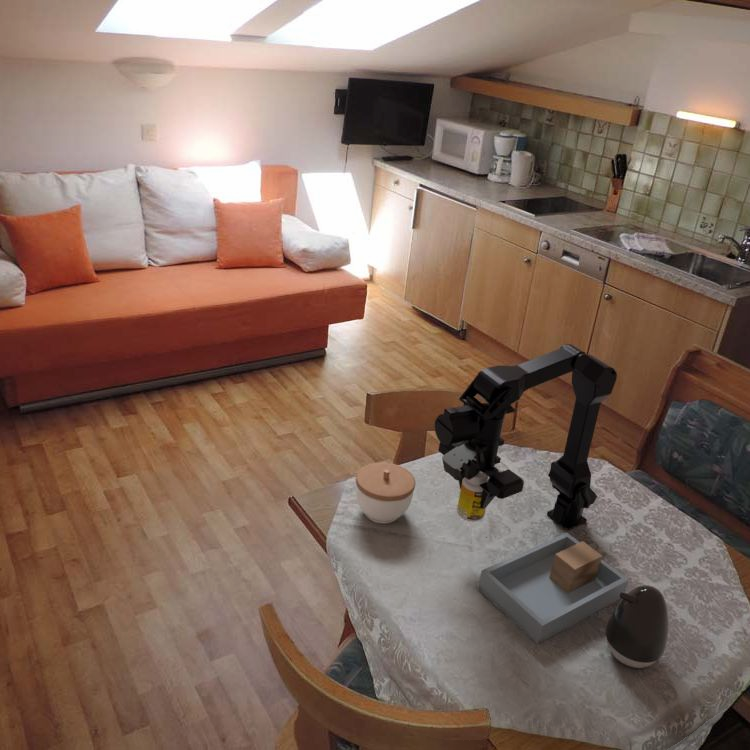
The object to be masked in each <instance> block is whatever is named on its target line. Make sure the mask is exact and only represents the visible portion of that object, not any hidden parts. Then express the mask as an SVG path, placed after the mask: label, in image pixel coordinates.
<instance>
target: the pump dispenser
mask: <svg viewBox="0 0 750 750" xmlns="http://www.w3.org/2000/svg"><path fill="white" fill-rule="evenodd" d="M619 596H620V598H621V600H620V602H619V603H618V604H617V606H615V608H614V610H613V611H612V613H611V615H610V617H609V619H608V621H607V622H606V625H605V629H604V630H605V631H604V633H605V637H606V638H605V639H606V643H607V646H608V649H609V651H610V653H611V654H612V655H613V657H614V658H615V659H616V660H617V661H619V662H620V663H622V664H623V665H626V666H628V667H631V668H636V669H637V668H638V669H642V668H647V667H649V666H651V665H653V664H654V663H656V662H657V661H658V660H660V659H661V658H662V657H663V656H664V654H665V651H666V648H667V643H668V637H669V629H670V626H669V625H670V622H669V621H670V620H669V612H668V604H667V602H666V599H665V597H664V594H663V593H662V592H661V591H660V590H659V589H658V588H656V587H655V586H652V585H648V584H642V585H640V586H637V587H635V588H633V589H632V590H630V591H629V592H628V593H627V592H625V593H624V592H621V593H620V595H619Z"/></svg>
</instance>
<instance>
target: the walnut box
mask: <svg viewBox="0 0 750 750" xmlns="http://www.w3.org/2000/svg"><path fill="white" fill-rule="evenodd" d="M579 542H580V543H578V544H576V545H574V546H571V547H569V548H567V549H565V550H563V551H561V552H559V553H556V554H555V557H554V561H553V565H552V569H551V573H550V576H549V578H550V579H551V580H553V581H554V582H555V583H556V584H557V585H559V586H560V587H561V588H562V589H563V590H565V591H566V592H567V593H570V592H572V591H574V590H576V589H578V588H580V587H582V586H584V585H586V584H587V583H589V582H591V581H593V580H595V579H596V576H597V572H598V569H599V566H600V562H601V559H602V560H603V555H602V554H601V553H599V552H598V551H596V550H595V549H594V548H592V547H591V546H590V545H589V544H587V543H586V542H585V541H584V540H582V541H579Z"/></svg>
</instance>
